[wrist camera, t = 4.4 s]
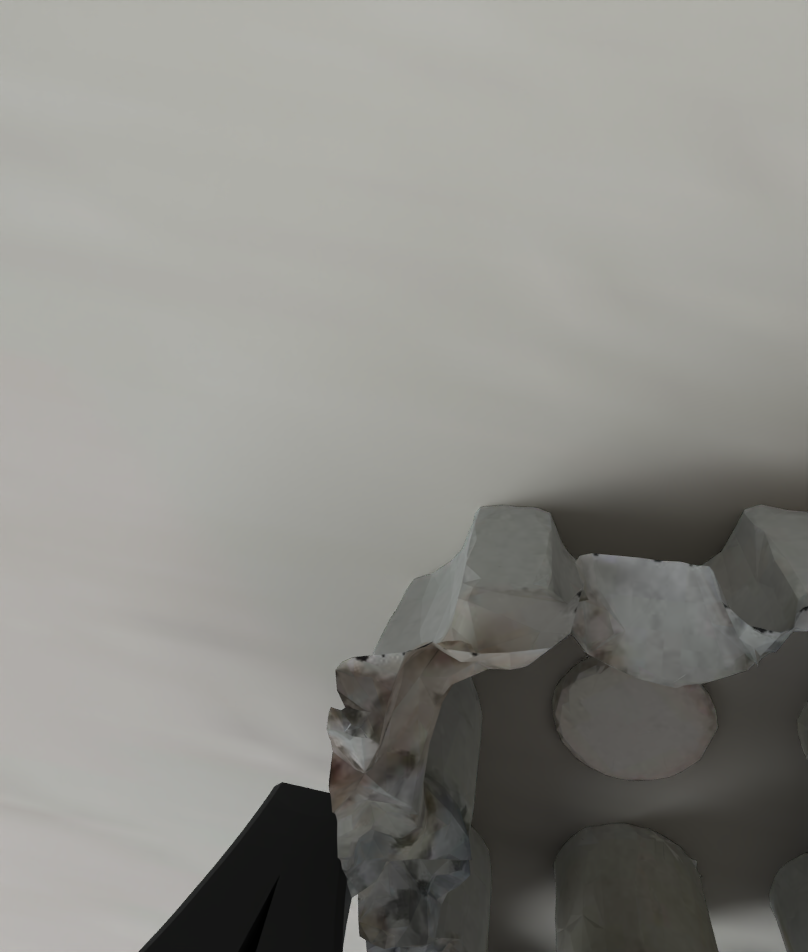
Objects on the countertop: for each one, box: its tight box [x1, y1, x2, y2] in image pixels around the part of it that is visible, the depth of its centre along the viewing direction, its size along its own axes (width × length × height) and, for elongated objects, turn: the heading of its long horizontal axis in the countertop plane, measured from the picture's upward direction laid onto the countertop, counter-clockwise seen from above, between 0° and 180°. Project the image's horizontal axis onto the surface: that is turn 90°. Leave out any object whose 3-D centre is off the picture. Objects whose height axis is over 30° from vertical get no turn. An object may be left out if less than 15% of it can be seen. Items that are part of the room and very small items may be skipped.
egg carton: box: [327, 505, 808, 952], centre depth 9 cm, size 11×8×4 cm
